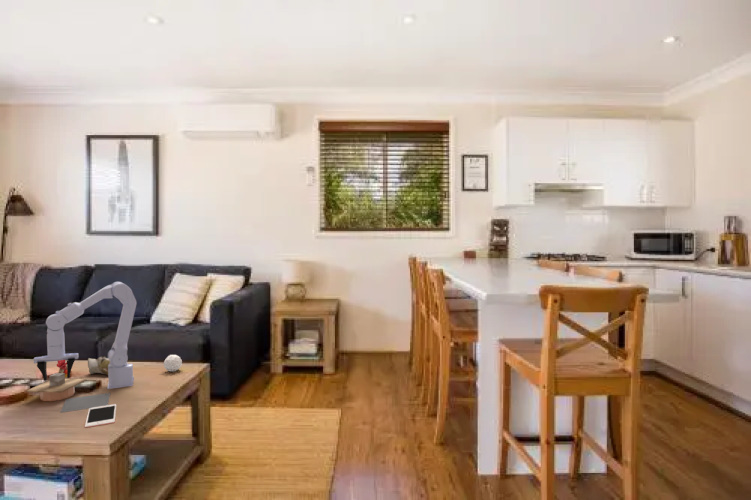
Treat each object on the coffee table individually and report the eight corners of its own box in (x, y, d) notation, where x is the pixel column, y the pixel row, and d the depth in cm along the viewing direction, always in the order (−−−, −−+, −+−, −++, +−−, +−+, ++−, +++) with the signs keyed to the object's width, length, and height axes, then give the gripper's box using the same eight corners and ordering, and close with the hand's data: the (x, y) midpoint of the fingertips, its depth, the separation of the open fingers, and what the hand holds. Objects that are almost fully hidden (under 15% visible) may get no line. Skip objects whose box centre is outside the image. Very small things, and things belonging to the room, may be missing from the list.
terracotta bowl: (75, 390, 193) (75, 379, 193) (72, 399, 183) (72, 388, 183) (43, 394, 188) (43, 383, 188) (38, 403, 178) (37, 392, 178)
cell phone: (84, 429, 157) (84, 426, 157) (89, 410, 173) (89, 407, 173) (114, 424, 161) (114, 421, 161) (116, 406, 177) (116, 403, 177)
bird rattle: (55, 387, 203) (47, 385, 194) (58, 361, 206) (51, 358, 198) (71, 386, 204) (65, 384, 196) (74, 360, 208) (68, 357, 200)
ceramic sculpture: (94, 351, 220) (127, 353, 220) (94, 369, 220) (126, 371, 221) (81, 358, 209) (115, 360, 210) (80, 377, 210) (114, 378, 210)
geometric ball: (169, 377, 217) (157, 366, 214) (175, 367, 225) (164, 355, 222) (181, 371, 216) (170, 358, 213) (187, 360, 223) (176, 348, 220)
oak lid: (86, 380, 192) (85, 369, 192) (61, 392, 178) (61, 380, 178) (53, 379, 193) (53, 369, 192) (26, 391, 179) (26, 380, 178)
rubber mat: (110, 393, 189) (110, 392, 189) (107, 406, 175) (107, 405, 175) (66, 400, 182) (66, 398, 182) (60, 413, 169) (60, 412, 169)
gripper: (78, 340, 191) (79, 373, 192) (35, 344, 185) (37, 378, 185) (76, 344, 185) (77, 378, 186) (32, 348, 178) (33, 383, 179)
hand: (57, 378), depth 185 cm, fingers open, 7 cm apart
